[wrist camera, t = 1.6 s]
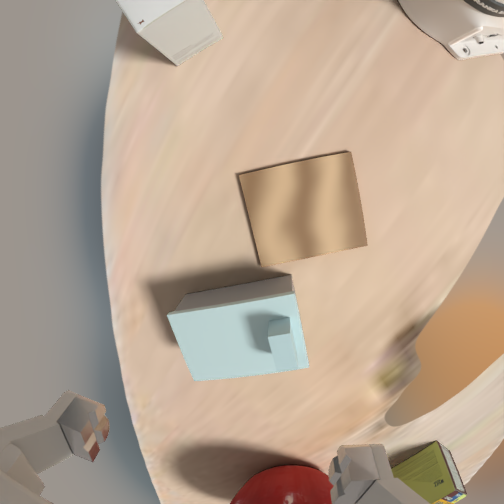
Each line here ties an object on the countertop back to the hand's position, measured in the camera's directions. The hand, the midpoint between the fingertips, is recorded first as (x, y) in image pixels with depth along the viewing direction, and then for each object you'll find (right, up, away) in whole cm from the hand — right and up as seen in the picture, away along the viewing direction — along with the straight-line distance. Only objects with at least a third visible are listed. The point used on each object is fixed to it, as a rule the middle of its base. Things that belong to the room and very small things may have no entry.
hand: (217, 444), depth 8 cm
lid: (0, -5, +28) cm, 28 cm away
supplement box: (-7, +35, +23) cm, 43 cm away
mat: (+8, +12, +29) cm, 32 cm away
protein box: (+41, -45, +42) cm, 74 cm away
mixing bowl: (+10, -45, +46) cm, 65 cm away
